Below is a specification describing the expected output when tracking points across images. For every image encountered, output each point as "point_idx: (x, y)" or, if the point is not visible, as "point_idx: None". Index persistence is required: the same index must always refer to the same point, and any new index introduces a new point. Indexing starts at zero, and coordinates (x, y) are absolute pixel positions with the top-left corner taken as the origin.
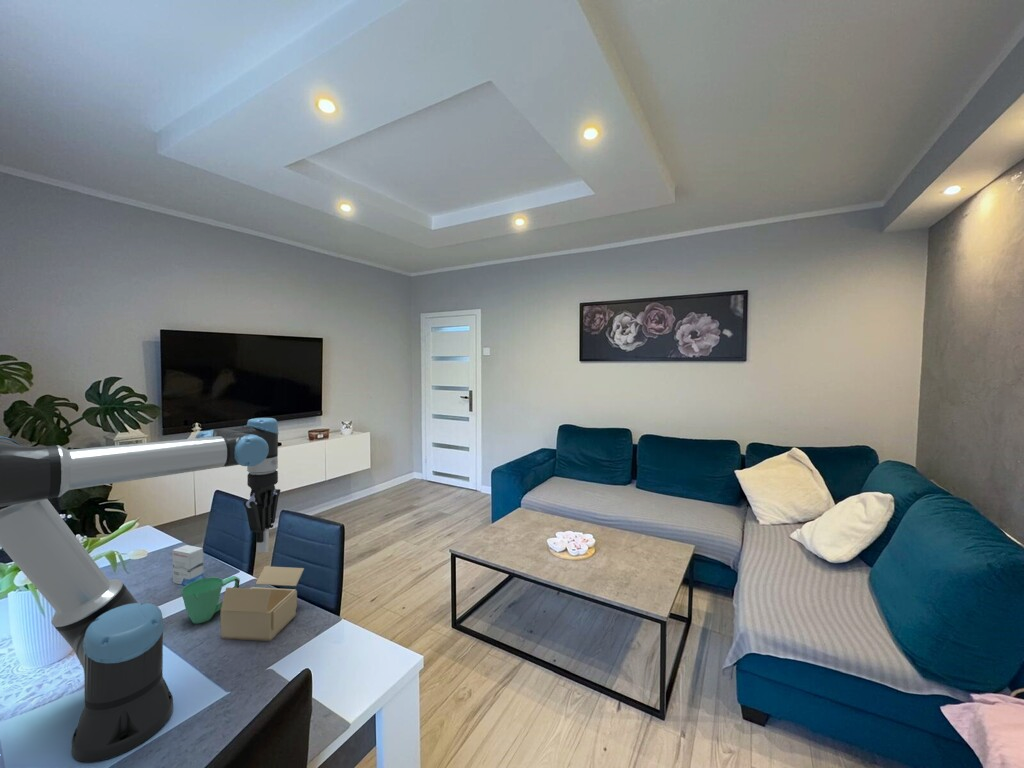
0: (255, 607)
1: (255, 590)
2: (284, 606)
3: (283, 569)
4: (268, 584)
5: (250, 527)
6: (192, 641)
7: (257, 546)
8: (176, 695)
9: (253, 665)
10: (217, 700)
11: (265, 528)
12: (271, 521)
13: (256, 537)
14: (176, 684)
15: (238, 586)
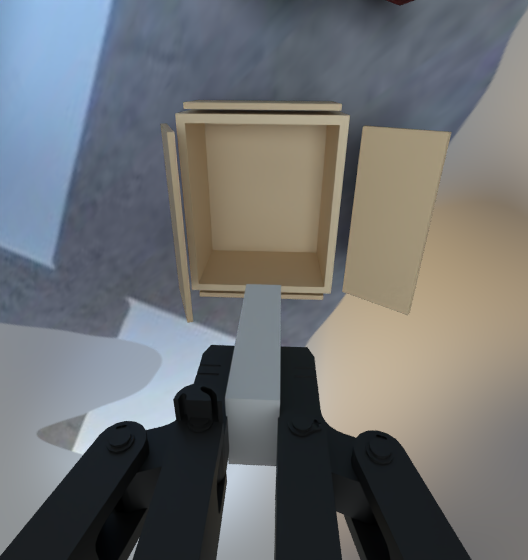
0: (176, 257)
1: (181, 267)
2: None
3: (414, 233)
4: (356, 186)
5: (74, 476)
6: (169, 15)
7: (242, 310)
8: (3, 163)
9: (128, 266)
10: (29, 259)
11: (276, 443)
12: (344, 510)
13: (196, 377)
14: (25, 132)
15: (402, 3)
